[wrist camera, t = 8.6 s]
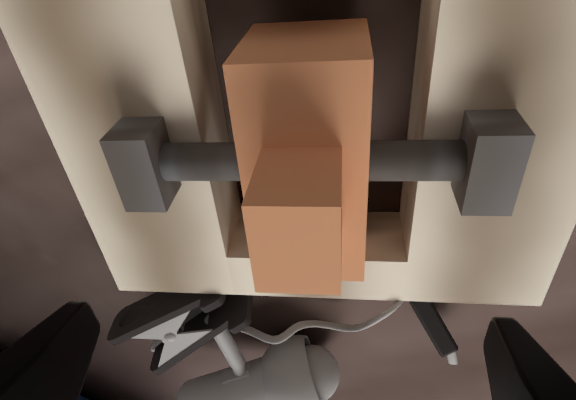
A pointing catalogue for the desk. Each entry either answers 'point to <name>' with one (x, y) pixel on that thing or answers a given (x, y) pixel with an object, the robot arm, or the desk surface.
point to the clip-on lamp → (240, 375)
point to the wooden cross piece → (303, 150)
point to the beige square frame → (382, 163)
